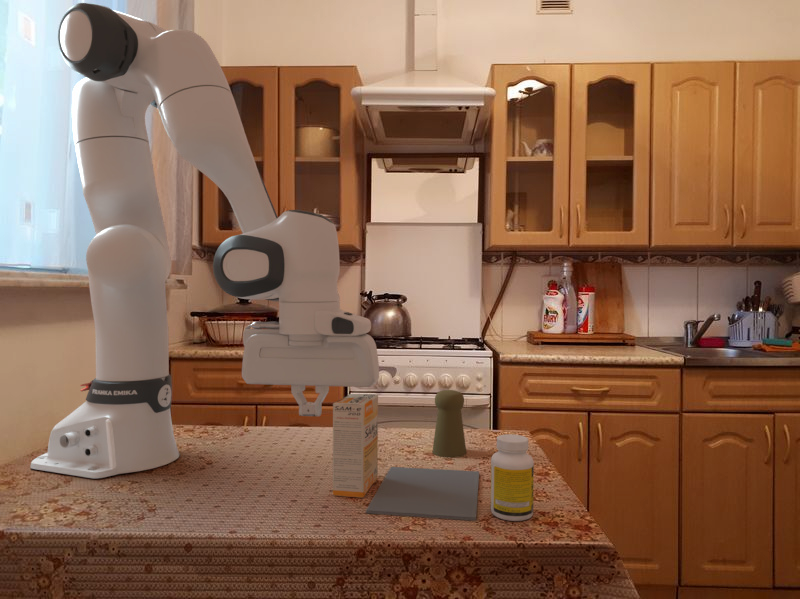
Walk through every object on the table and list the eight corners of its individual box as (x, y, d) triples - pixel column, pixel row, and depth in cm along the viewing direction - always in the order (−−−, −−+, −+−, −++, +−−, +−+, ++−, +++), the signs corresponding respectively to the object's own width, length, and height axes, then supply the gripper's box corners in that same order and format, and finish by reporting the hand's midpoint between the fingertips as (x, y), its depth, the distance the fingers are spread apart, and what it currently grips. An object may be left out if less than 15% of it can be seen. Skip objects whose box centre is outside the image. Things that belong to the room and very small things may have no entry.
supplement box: (365, 499, 76) (365, 404, 76) (331, 496, 77) (331, 402, 77) (379, 479, 84) (379, 393, 84) (348, 477, 85) (348, 392, 85)
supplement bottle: (540, 521, 69) (540, 442, 69) (498, 524, 68) (499, 444, 68) (523, 504, 74) (524, 431, 74) (484, 507, 73) (485, 433, 73)
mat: (366, 513, 71) (366, 510, 71) (391, 469, 89) (391, 466, 89) (475, 520, 69) (475, 517, 69) (479, 474, 87) (479, 471, 87)
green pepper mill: (473, 453, 98) (473, 391, 97) (446, 459, 94) (447, 395, 94) (451, 445, 103) (451, 386, 102) (425, 451, 99) (425, 389, 99)
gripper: (233, 322, 80) (234, 417, 80) (372, 323, 76) (372, 422, 77) (252, 320, 86) (253, 408, 86) (381, 320, 83) (381, 413, 83)
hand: (310, 415), depth 81 cm, fingers closed
